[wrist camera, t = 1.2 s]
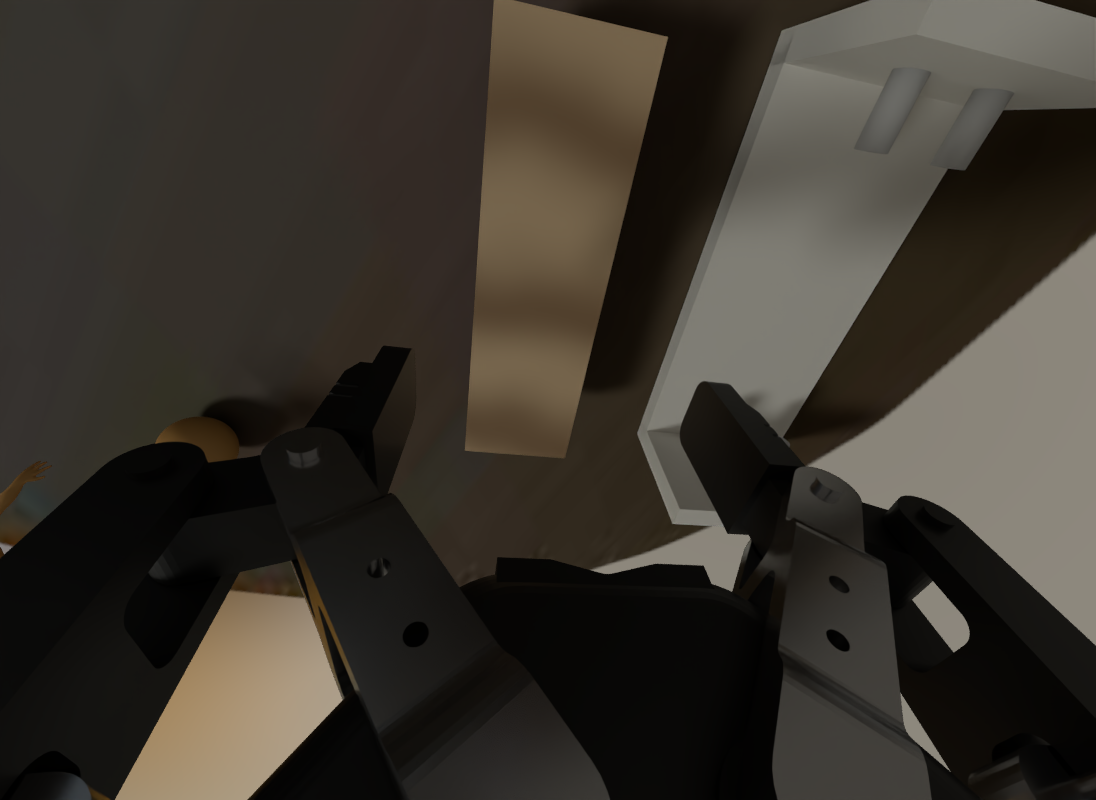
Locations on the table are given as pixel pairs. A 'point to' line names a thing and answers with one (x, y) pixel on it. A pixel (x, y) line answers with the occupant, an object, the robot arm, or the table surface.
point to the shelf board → (550, 214)
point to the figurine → (195, 430)
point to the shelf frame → (844, 192)
